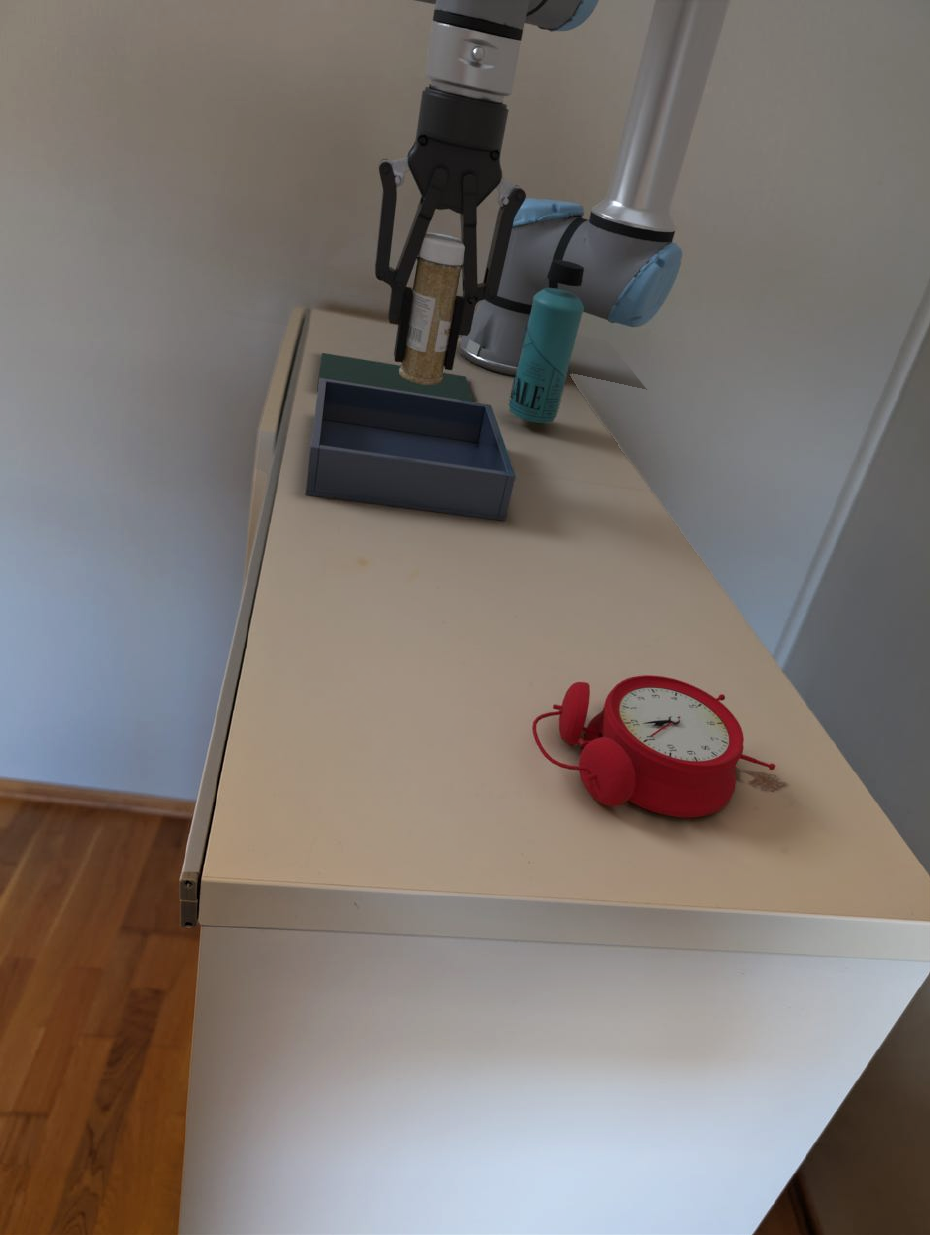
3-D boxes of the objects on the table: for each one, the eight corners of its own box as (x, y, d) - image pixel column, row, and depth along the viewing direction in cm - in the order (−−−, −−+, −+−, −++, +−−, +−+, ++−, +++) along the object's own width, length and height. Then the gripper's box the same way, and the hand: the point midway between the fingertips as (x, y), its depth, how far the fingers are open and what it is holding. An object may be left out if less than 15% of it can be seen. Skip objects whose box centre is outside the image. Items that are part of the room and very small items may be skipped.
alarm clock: (798, 776, 54) (602, 739, 48) (743, 843, 57) (552, 816, 51) (721, 674, 62) (546, 631, 56) (676, 738, 65) (505, 703, 59)
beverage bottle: (553, 421, 113) (595, 263, 103) (553, 439, 108) (597, 273, 97) (505, 410, 113) (542, 251, 103) (502, 428, 108) (540, 260, 97)
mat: (465, 380, 121) (465, 376, 120) (475, 416, 109) (476, 412, 109) (321, 356, 117) (322, 352, 117) (316, 391, 105) (317, 387, 105)
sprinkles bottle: (449, 387, 86) (476, 246, 79) (407, 386, 84) (430, 240, 77) (431, 371, 89) (456, 234, 82) (391, 369, 87) (412, 228, 80)
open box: (482, 444, 102) (491, 404, 99) (505, 521, 85) (516, 476, 83) (315, 419, 98) (319, 377, 95) (305, 494, 82) (310, 446, 79)
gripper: (365, 71, 69) (334, 359, 81) (573, 117, 72) (512, 387, 84) (365, 68, 75) (336, 336, 87) (556, 110, 78) (502, 363, 90)
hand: (423, 361), depth 86 cm, fingers closed on sprinkles bottle, 4 cm apart
